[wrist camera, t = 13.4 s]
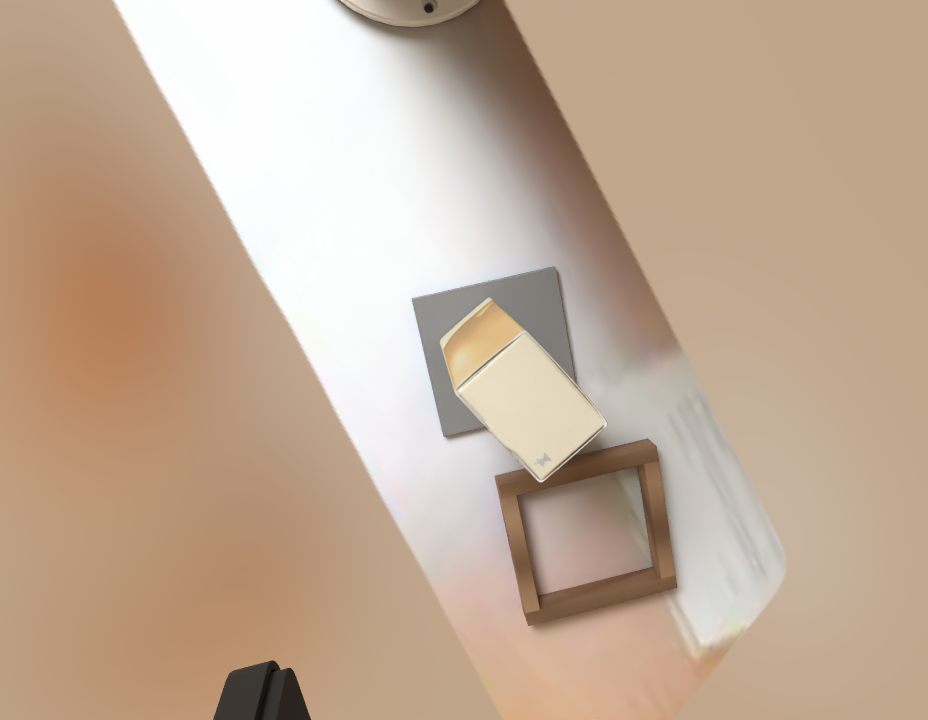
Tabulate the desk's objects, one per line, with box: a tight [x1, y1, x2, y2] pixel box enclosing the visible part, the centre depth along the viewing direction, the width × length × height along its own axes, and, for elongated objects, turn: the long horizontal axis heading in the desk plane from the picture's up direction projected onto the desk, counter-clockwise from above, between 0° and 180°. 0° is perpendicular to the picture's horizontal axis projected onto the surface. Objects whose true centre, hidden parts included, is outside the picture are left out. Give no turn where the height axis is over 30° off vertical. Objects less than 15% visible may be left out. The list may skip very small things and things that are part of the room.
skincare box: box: [440, 298, 607, 482], centre depth 35 cm, size 6×4×12 cm
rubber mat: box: [412, 267, 576, 436], centre depth 41 cm, size 9×9×1 cm
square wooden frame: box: [495, 439, 677, 626], centre depth 44 cm, size 11×11×2 cm
